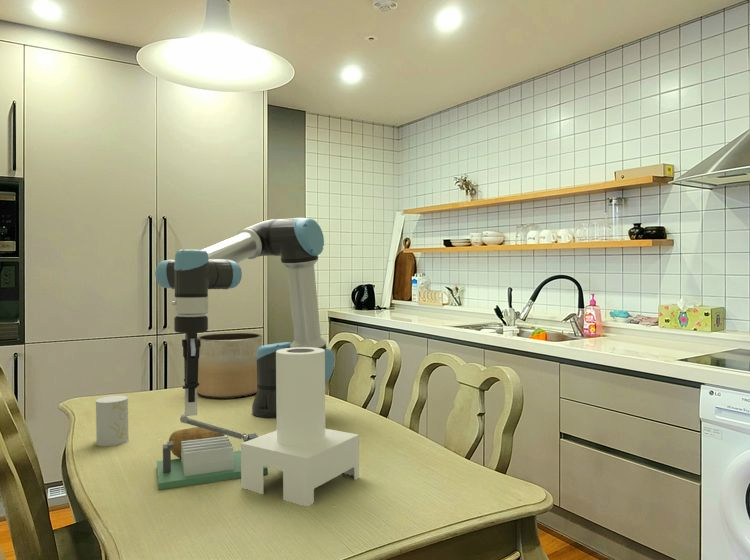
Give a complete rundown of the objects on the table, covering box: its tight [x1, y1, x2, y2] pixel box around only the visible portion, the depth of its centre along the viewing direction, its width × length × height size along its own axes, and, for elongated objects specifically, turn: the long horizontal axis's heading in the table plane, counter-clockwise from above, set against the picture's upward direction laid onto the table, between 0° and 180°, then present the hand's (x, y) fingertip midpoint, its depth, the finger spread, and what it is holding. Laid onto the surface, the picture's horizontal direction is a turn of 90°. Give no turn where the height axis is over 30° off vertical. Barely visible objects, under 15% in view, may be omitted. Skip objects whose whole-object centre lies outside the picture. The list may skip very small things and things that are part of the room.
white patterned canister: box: [95, 395, 130, 447], centre depth 157 cm, size 8×8×12 cm
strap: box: [179, 414, 248, 442], centre depth 134 cm, size 17×3×1 cm, turn 113°
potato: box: [168, 426, 226, 459], centre depth 142 cm, size 10×14×8 cm
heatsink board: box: [156, 432, 269, 491], centre depth 133 cm, size 24×15×8 cm, turn 113°
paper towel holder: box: [240, 347, 360, 507], centre depth 126 cm, size 19×19×30 cm
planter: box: [197, 332, 263, 399], centre depth 218 cm, size 25×25×22 cm
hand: (190, 414), depth 131 cm, fingers closed
